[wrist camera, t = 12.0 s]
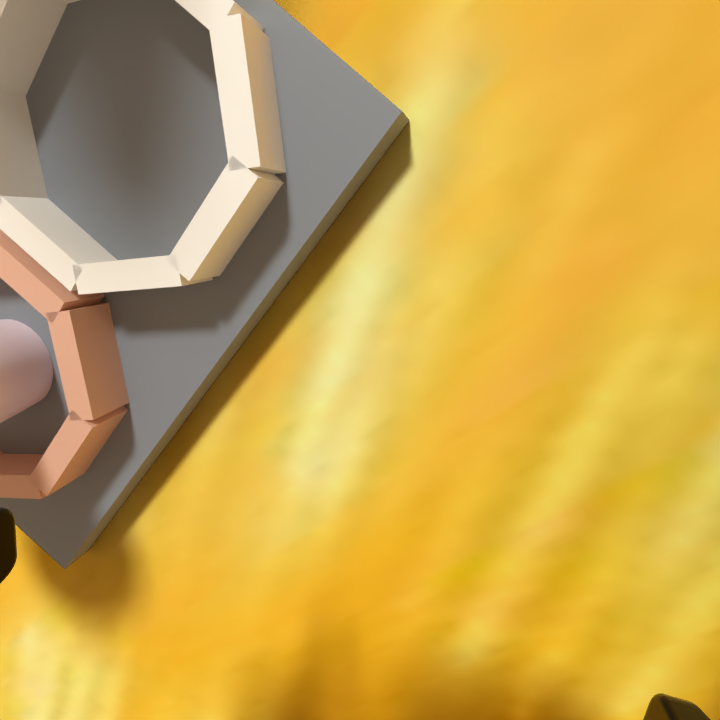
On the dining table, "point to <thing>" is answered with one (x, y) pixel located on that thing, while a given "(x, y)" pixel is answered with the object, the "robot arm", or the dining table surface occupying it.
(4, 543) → the robot arm
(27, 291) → the board
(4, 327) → the smoothie
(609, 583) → the dining table surface
